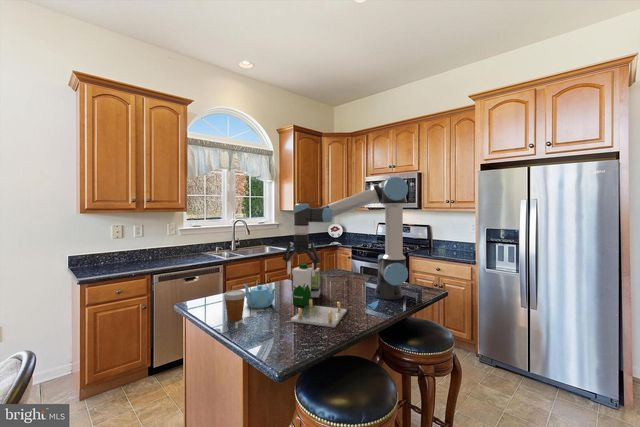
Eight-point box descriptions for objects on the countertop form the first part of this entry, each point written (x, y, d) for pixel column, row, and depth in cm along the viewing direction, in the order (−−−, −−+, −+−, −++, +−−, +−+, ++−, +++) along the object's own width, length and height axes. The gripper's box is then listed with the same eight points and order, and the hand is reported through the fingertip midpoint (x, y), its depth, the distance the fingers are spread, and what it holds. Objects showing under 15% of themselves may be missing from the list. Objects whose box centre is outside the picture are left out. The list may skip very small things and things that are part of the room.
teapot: (271, 299, 170) (270, 280, 169) (277, 308, 156) (277, 287, 155) (243, 303, 164) (243, 283, 164) (247, 312, 150) (247, 291, 150)
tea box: (320, 292, 182) (320, 267, 182) (318, 298, 172) (318, 271, 172) (294, 292, 184) (294, 266, 183) (291, 297, 174) (291, 270, 173)
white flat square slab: (346, 311, 151) (346, 300, 151) (334, 327, 132) (334, 315, 132) (307, 307, 157) (307, 296, 157) (290, 321, 138) (290, 310, 138)
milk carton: (312, 301, 166) (312, 263, 166) (305, 306, 158) (305, 267, 157) (297, 299, 170) (297, 262, 169) (290, 304, 161) (289, 265, 160)
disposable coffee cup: (227, 315, 147) (227, 289, 146) (248, 315, 146) (248, 289, 146) (220, 323, 137) (220, 295, 137) (242, 323, 137) (242, 295, 136)
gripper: (326, 234, 162) (326, 275, 163) (282, 232, 170) (282, 271, 171) (322, 235, 155) (321, 278, 156) (276, 233, 163) (275, 274, 164)
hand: (301, 274), depth 163 cm, fingers open, 13 cm apart
